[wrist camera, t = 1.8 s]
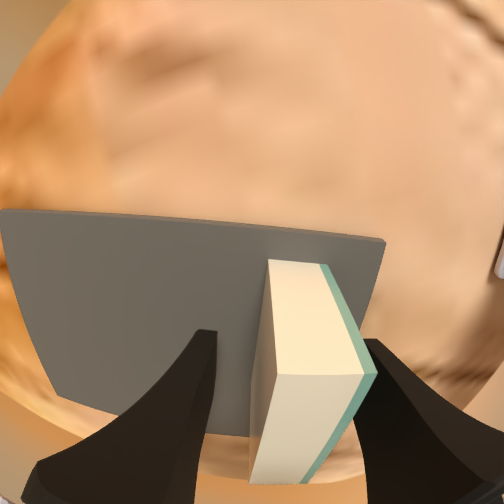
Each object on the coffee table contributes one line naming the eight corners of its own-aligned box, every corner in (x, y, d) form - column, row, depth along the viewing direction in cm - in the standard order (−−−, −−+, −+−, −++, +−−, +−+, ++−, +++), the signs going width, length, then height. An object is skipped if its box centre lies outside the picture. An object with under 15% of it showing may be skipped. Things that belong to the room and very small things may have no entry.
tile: (327, 264, 9) (377, 373, 5) (295, 384, 12) (307, 483, 7) (268, 259, 9) (277, 373, 5) (250, 382, 12) (248, 484, 7)
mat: (382, 238, 9) (386, 242, 9) (311, 432, 14) (312, 437, 14) (3, 208, 9) (-3, 211, 9) (59, 391, 14) (57, 395, 13)
